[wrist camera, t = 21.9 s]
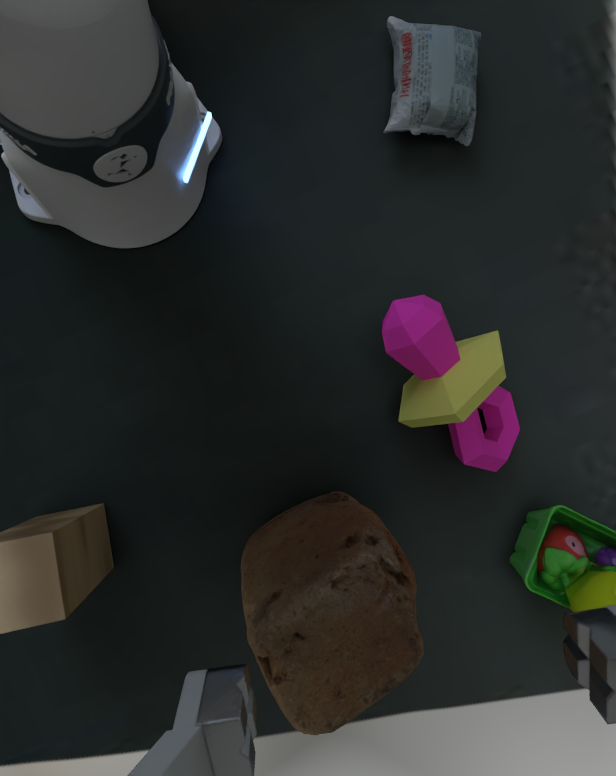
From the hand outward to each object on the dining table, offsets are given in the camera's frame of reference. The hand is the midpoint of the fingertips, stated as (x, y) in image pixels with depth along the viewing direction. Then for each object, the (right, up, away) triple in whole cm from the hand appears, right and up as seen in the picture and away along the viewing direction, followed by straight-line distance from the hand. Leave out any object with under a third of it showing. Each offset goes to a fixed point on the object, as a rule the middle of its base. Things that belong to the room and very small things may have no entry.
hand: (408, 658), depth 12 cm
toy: (+9, +7, +34) cm, 36 cm away
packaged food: (+8, +36, +36) cm, 51 cm away
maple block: (-22, -6, +29) cm, 37 cm away
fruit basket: (+21, -10, +34) cm, 41 cm away
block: (-3, -7, +31) cm, 32 cm away
